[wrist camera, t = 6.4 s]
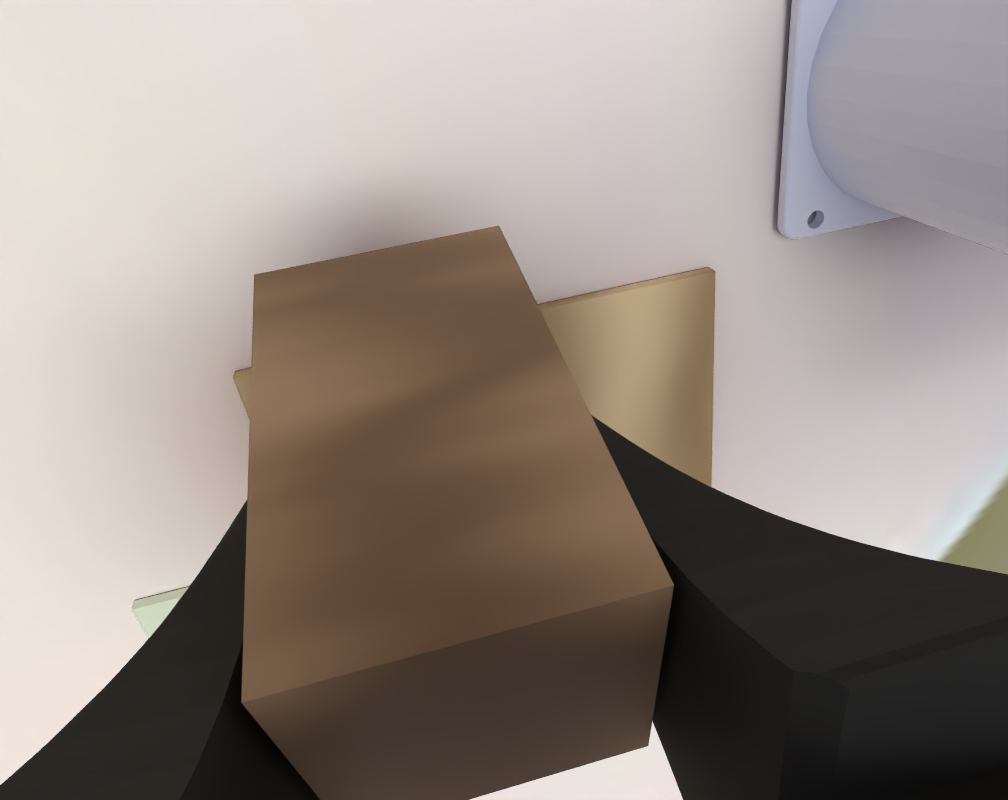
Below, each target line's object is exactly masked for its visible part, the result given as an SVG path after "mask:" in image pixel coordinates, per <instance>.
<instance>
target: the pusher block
mask: <svg viewBox="0 0 1008 800" xmlns="http://www.w3.org/2000/svg"><path fill="white" fill-rule="evenodd" d="M673 588H674V584H673V582H672V580H671V578H670V576H669V574H668V572H667V570H666V568H665V565H664V563H663V561H662V559H661V557H660V555H659V553H658V551H657V549H656V547H655V545H654V543H653V541H652V539H651V537H650V535H649V533H648V531H647V529H646V527H645V524H644V522H643V520H642V518H641V516H640V514H639V512H638V510H637V508H636V506H635V504H634V502H633V500H632V498H631V496H630V494H629V492H628V490H627V488H626V485H625V483H624V481H623V479H622V477H621V475H620V473H619V471H618V469H617V467H616V465H615V463H614V461H613V459H612V457H611V455H610V453H609V451H608V449H607V447H606V444H605V442H604V440H603V438H602V436H601V434H600V432H599V430H598V428H597V426H596V424H595V422H594V420H593V418H592V416H591V414H590V412H589V410H588V408H587V406H586V403H585V401H584V399H583V397H582V395H581V393H580V391H579V389H578V387H577V385H576V383H575V381H574V379H573V377H572V375H571V373H570V371H569V369H568V367H567V365H566V362H565V360H564V358H563V356H562V354H561V352H560V350H559V348H558V346H557V344H556V342H555V340H554V338H553V336H552V334H551V332H550V330H549V328H548V326H547V323H546V321H545V319H544V317H543V315H542V313H541V311H540V309H539V307H538V305H537V303H536V301H535V299H534V297H533V295H532V293H531V291H530V289H529V287H528V285H527V282H526V280H525V278H524V276H523V274H522V272H521V270H520V268H519V266H518V264H517V262H516V260H515V258H514V256H513V254H512V252H511V250H510V248H509V246H508V244H507V241H506V239H505V237H504V235H503V233H502V231H501V229H500V227H499V226H495V227H490V228H485V229H480V230H475V231H470V232H465V233H460V234H455V235H450V236H445V237H440V238H435V239H430V240H425V241H420V242H415V243H410V244H405V245H400V246H395V247H390V248H385V249H380V250H375V251H370V252H365V253H360V254H355V255H350V256H345V257H341V258H336V259H331V260H326V261H321V262H316V263H311V264H306V265H301V266H296V267H291V268H286V269H281V270H276V271H271V272H266V273H261V274H256V275H254V300H253V334H252V367H251V400H250V433H249V466H248V500H247V533H246V566H245V599H244V632H243V666H242V699H241V703H242V704H243V705H244V706H245V708H246V709H247V710H248V711H249V713H250V714H251V715H252V716H253V718H254V719H255V720H256V721H257V722H258V724H259V725H260V726H261V727H262V729H263V730H264V731H265V732H266V733H267V735H268V736H269V737H270V738H271V740H272V741H273V742H274V743H275V744H276V746H277V747H278V748H279V749H280V751H281V752H282V753H283V754H284V755H285V757H286V758H287V759H288V760H289V762H290V763H291V764H292V765H293V767H294V768H295V769H296V770H297V771H298V773H299V774H300V775H301V776H302V778H303V779H304V780H305V781H306V782H307V784H308V785H309V786H310V787H311V789H312V790H313V791H314V792H315V793H316V795H317V796H318V797H319V798H320V800H469V799H472V798H476V797H479V796H482V795H486V794H489V793H492V792H496V791H499V790H502V789H506V788H509V787H512V786H516V785H519V784H522V783H526V782H529V781H532V780H536V779H539V778H542V777H546V776H549V775H552V774H556V773H559V772H562V771H566V770H569V769H572V768H576V767H579V766H582V765H586V764H589V763H593V762H596V761H599V760H603V759H606V758H609V757H613V756H616V755H619V754H623V753H626V752H629V751H633V750H636V749H639V748H643V747H646V746H648V743H649V737H650V731H651V725H652V718H653V712H654V706H655V700H656V694H657V687H658V681H659V675H660V669H661V663H662V657H663V650H664V644H665V638H666V632H667V626H668V619H669V613H670V607H671V601H672V595H673Z"/></svg>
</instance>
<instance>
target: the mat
mask: <svg viewBox="0 0 1008 800" xmlns="http://www.w3.org/2000/svg"><path fill="white" fill-rule="evenodd" d="M538 307H539V309H540V311H541V313H542V315H543V317H544V319H545V321H546V323H547V326H548V328H549V330H550V332H551V334H552V336H553V338H554V340H555V342H556V344H557V346H558V348H559V350H560V352H561V354H562V356H563V358H564V360H565V362H566V365H567V367H568V369H569V371H570V373H571V375H572V377H573V379H574V381H575V383H576V385H577V387H578V389H579V391H580V393H581V395H582V397H583V399H584V401H585V403H586V406H587V408H588V410H589V412H590V414H591V415H592V416H594V417H595V418H597V419H598V420H600V421H601V422H603V423H604V424H606V425H607V426H609V427H610V428H611V429H613V430H614V431H616V432H617V433H619V434H620V435H622V436H623V437H625V438H626V439H628V440H629V441H631V442H633V443H634V444H636V445H637V446H639V447H640V448H642V449H644V450H645V451H647V452H648V453H650V454H652V455H653V456H655V457H657V458H658V459H660V460H662V461H663V462H665V463H667V464H669V465H670V466H672V467H674V468H676V469H677V470H679V471H681V472H683V473H685V474H687V475H689V476H691V477H693V478H694V479H696V480H698V481H700V482H702V483H704V484H706V485H708V486H710V487H711V470H712V416H713V362H714V308H715V271H714V270H712V269H711V268H709V267H707V268H702V269H698V270H693V271H689V272H684V273H680V274H675V275H671V276H666V277H662V278H657V279H652V280H648V281H643V282H639V283H634V284H630V285H625V286H621V287H616V288H612V289H607V290H603V291H598V292H593V293H589V294H584V295H580V296H575V297H571V298H566V299H562V300H557V301H553V302H548V303H543V304H539V305H538ZM233 379H234V381H235V384H236V386H237V389H238V391H239V394H240V397H241V399H242V402H243V404H244V407H245V409H246V412H247V414H248V417H249V419H250V400H251V368H248V369H244V370H239V371H235V373H234V377H233Z"/></svg>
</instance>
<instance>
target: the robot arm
mask: <svg viewBox="0 0 1008 800" xmlns="http://www.w3.org/2000/svg"><path fill="white" fill-rule="evenodd" d="M815 211H816V217H815V219H814V220H813V222H812V223H810V224H808V223H807V221H808V218H809V216H810V215H811V214H812V213H813V212H815ZM902 216H905V217H907V218H910V219H913V220H915V221H918V222H921V223H924V224H926V225H929V226H932V227H934V228H937V229H940V230H943V231H945V232H948V233H951V234H953V235H956V236H959V237H962V238H964V239H967V240H970V241H972V242H975V243H978V244H981V245H983V246H986V247H989V248H992V249H994V250H997V251H1000V252H1002V253H1005V254H1008V0H792V5H791V20H790V36H789V51H788V67H787V82H786V97H785V113H784V128H783V144H782V159H781V175H780V190H779V205H778V221H777V225H778V230H779V232H780V233H781V234H782V235H784V236H786V237H788V238H790V239H802V238H806V237H811V236H815V235H820V234H824V233H829V232H834V231H838V230H843V229H847V228H852V227H856V226H861V225H866V224H870V223H875V222H879V221H884V220H888V219H893V218H898V217H902ZM591 416H592V415H591ZM592 418H593V420H594V422H595V424H596V426H597V428H598V430H599V432H600V434H601V436H602V438H603V440H604V442H605V444H606V447H607V449H608V451H609V453H610V455H611V457H612V459H613V461H614V463H615V465H616V467H617V469H618V471H619V473H620V475H621V477H622V479H623V481H624V483H625V485H626V488H627V490H628V492H629V494H630V496H631V498H632V500H633V502H634V504H635V506H636V508H637V510H638V512H639V514H640V516H641V518H642V520H643V522H644V524H645V527H646V529H647V531H648V533H649V535H650V537H651V539H652V541H653V543H654V545H655V547H656V549H657V551H658V553H659V555H660V557H661V559H662V561H663V563H664V565H665V568H666V570H667V572H668V574H669V576H670V578H671V580H672V582H673V584H674V588H673V595H672V601H671V607H670V613H669V619H668V626H667V632H666V638H665V644H664V650H663V657H662V663H661V669H660V675H659V681H658V687H657V694H656V700H655V706H654V712H653V718H652V721H653V723H654V726H655V728H656V731H657V733H658V736H659V738H660V741H661V743H662V746H663V748H664V751H665V753H666V756H667V759H668V761H669V764H670V766H671V769H672V772H673V774H674V777H675V779H676V782H677V785H678V787H679V790H680V792H681V795H682V797H683V800H1008V575H1007V574H1002V573H997V572H992V571H986V570H981V569H976V568H971V567H965V566H960V565H955V564H949V563H944V562H939V561H934V560H929V559H924V558H919V557H915V556H910V555H906V554H902V553H898V552H894V551H890V550H886V549H883V548H879V547H875V546H871V545H867V544H863V543H859V542H856V541H853V540H849V539H846V538H842V537H839V536H835V535H832V534H829V533H826V532H823V531H820V530H817V529H814V528H811V527H808V526H805V525H802V524H799V523H796V522H793V521H790V520H787V519H785V518H782V517H779V516H777V515H774V514H772V513H769V512H766V511H764V510H761V509H759V508H757V507H754V506H752V505H750V504H747V503H745V502H743V501H740V500H738V499H736V498H733V497H731V496H729V495H726V494H724V493H722V492H720V491H718V490H716V489H714V488H712V487H710V486H708V485H706V484H704V483H702V482H700V481H698V480H696V479H694V478H693V477H691V476H689V475H687V474H685V473H683V472H681V471H679V470H677V469H676V468H674V467H672V466H670V465H669V464H667V463H665V462H663V461H662V460H660V459H658V458H657V457H655V456H653V455H652V454H650V453H648V452H647V451H645V450H644V449H642V448H640V447H639V446H637V445H636V444H634V443H633V442H631V441H629V440H628V439H626V438H625V437H623V436H622V435H620V434H619V433H617V432H616V431H614V430H613V429H611V428H610V427H609V426H607V425H606V424H604V423H603V422H601V421H600V420H598V419H597V418H595V417H594V416H592ZM247 500H248V499H247ZM246 533H247V501H246V502H245V504H244V505H243V507H242V508H241V510H240V512H239V513H238V515H237V516H236V518H235V520H234V521H233V523H232V524H231V526H230V527H229V529H228V531H227V532H226V534H225V535H224V537H223V538H222V540H221V541H220V543H219V544H218V546H217V547H216V549H215V550H214V552H213V553H212V555H211V556H210V558H209V559H208V561H207V562H206V564H205V565H204V567H203V568H202V570H201V571H200V573H199V574H198V575H197V577H196V578H195V580H194V581H193V582H192V584H191V585H190V586H189V588H188V589H187V590H186V592H185V593H184V594H183V596H182V597H181V598H180V600H179V601H178V602H177V604H176V605H175V606H174V608H173V609H172V610H171V612H170V613H169V614H168V616H167V617H166V618H165V620H164V621H163V622H162V623H161V624H160V626H159V627H158V628H157V629H156V631H155V632H154V633H153V634H152V635H151V636H150V638H149V639H148V640H147V641H146V642H145V644H144V645H143V646H142V647H141V648H140V649H139V650H138V652H137V653H136V654H135V655H134V656H133V657H132V658H131V659H130V660H129V662H128V663H127V664H126V665H125V666H124V667H123V668H122V669H121V670H120V672H119V673H118V674H117V675H116V676H115V677H114V678H113V679H112V680H111V681H110V682H109V683H108V684H107V685H106V687H105V688H104V689H103V690H102V691H101V692H99V693H98V694H97V695H96V696H95V697H94V698H93V699H92V700H91V701H90V702H89V703H88V704H87V705H86V706H85V707H84V708H83V709H82V710H81V711H80V712H79V713H78V714H77V715H76V716H75V717H74V718H73V719H72V720H71V721H70V722H69V723H68V724H67V725H66V726H65V727H64V728H63V729H62V730H61V731H60V732H59V733H58V734H57V735H56V736H55V737H54V738H53V739H52V740H51V741H49V742H48V743H47V744H46V745H45V746H44V747H43V748H42V749H41V750H40V751H39V752H38V753H36V754H35V755H34V756H33V757H32V758H31V759H30V760H28V761H27V762H26V763H25V764H24V765H23V766H22V767H21V768H19V769H18V770H17V771H16V772H15V773H14V774H13V775H12V776H10V777H9V778H8V779H7V780H6V781H5V782H4V783H2V784H1V785H0V800H320V798H319V797H318V796H317V795H316V793H315V792H314V791H313V790H312V789H311V787H310V786H309V785H308V784H307V782H306V781H305V780H304V779H303V778H302V776H301V775H300V774H299V773H298V771H297V770H296V769H295V768H294V767H293V765H292V764H291V763H290V762H289V760H288V759H287V758H286V757H285V755H284V754H283V753H282V752H281V751H280V749H279V748H278V747H277V746H276V744H275V743H274V742H273V741H272V740H271V738H270V737H269V736H268V735H267V733H266V732H265V731H264V730H263V729H262V727H261V726H260V725H259V724H258V722H257V721H256V720H255V719H254V718H253V716H252V715H251V714H250V713H249V711H248V710H247V709H246V708H245V706H244V705H243V704H242V703H241V699H242V666H243V632H244V599H245V566H246Z"/></svg>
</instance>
